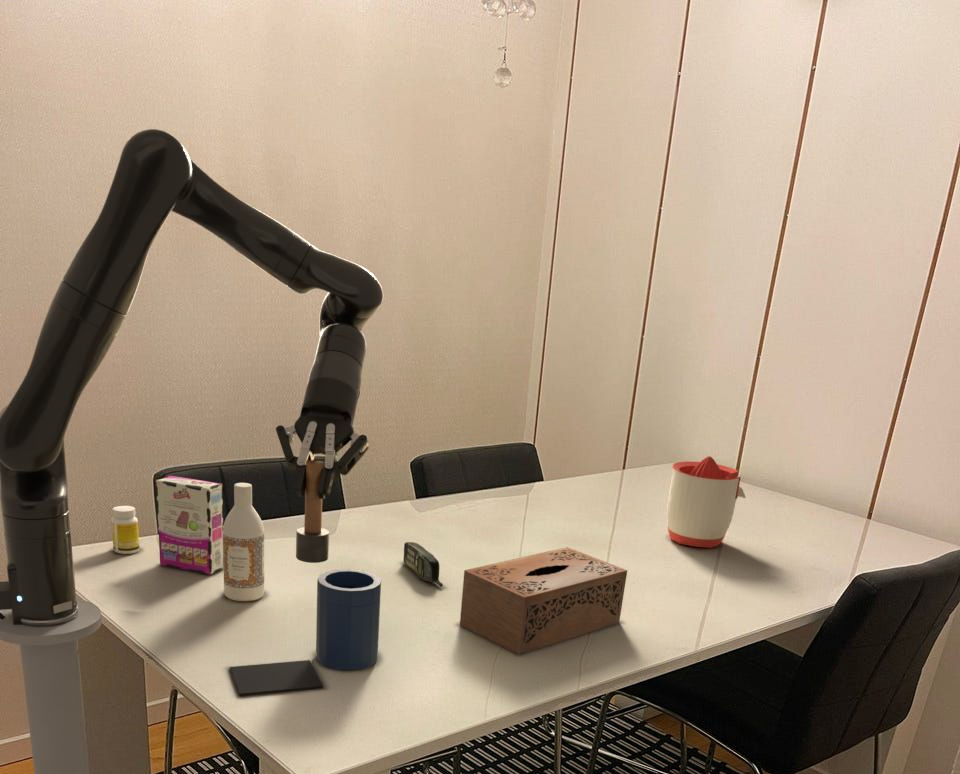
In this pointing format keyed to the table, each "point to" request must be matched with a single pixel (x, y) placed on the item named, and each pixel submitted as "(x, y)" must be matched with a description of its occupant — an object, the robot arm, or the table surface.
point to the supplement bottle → (125, 530)
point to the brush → (312, 520)
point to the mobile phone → (421, 562)
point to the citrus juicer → (701, 502)
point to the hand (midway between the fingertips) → (310, 494)
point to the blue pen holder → (347, 619)
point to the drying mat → (275, 678)
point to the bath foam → (243, 548)
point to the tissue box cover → (541, 598)
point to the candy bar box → (190, 524)
